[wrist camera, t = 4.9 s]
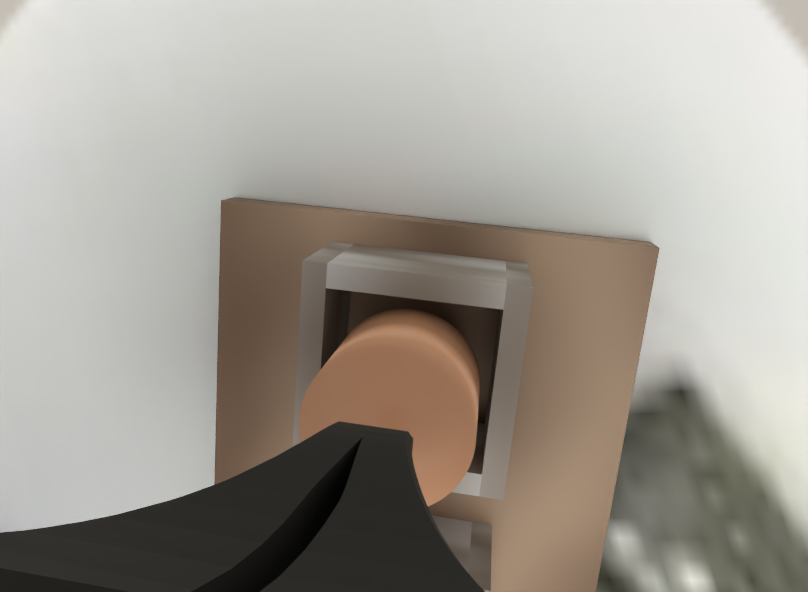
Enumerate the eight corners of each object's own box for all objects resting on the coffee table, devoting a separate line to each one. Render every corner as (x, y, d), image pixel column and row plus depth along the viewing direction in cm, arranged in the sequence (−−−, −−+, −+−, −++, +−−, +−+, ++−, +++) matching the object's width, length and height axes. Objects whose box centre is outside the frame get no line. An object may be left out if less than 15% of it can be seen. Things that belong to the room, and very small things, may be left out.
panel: (222, 625, 23) (167, 721, 19) (235, 197, 20) (170, 211, 16) (569, 689, 22) (584, 807, 18) (650, 242, 18) (691, 269, 14)
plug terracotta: (329, 436, 17) (294, 498, 14) (339, 300, 16) (303, 335, 13) (471, 457, 16) (465, 525, 14) (488, 318, 16) (486, 359, 13)
